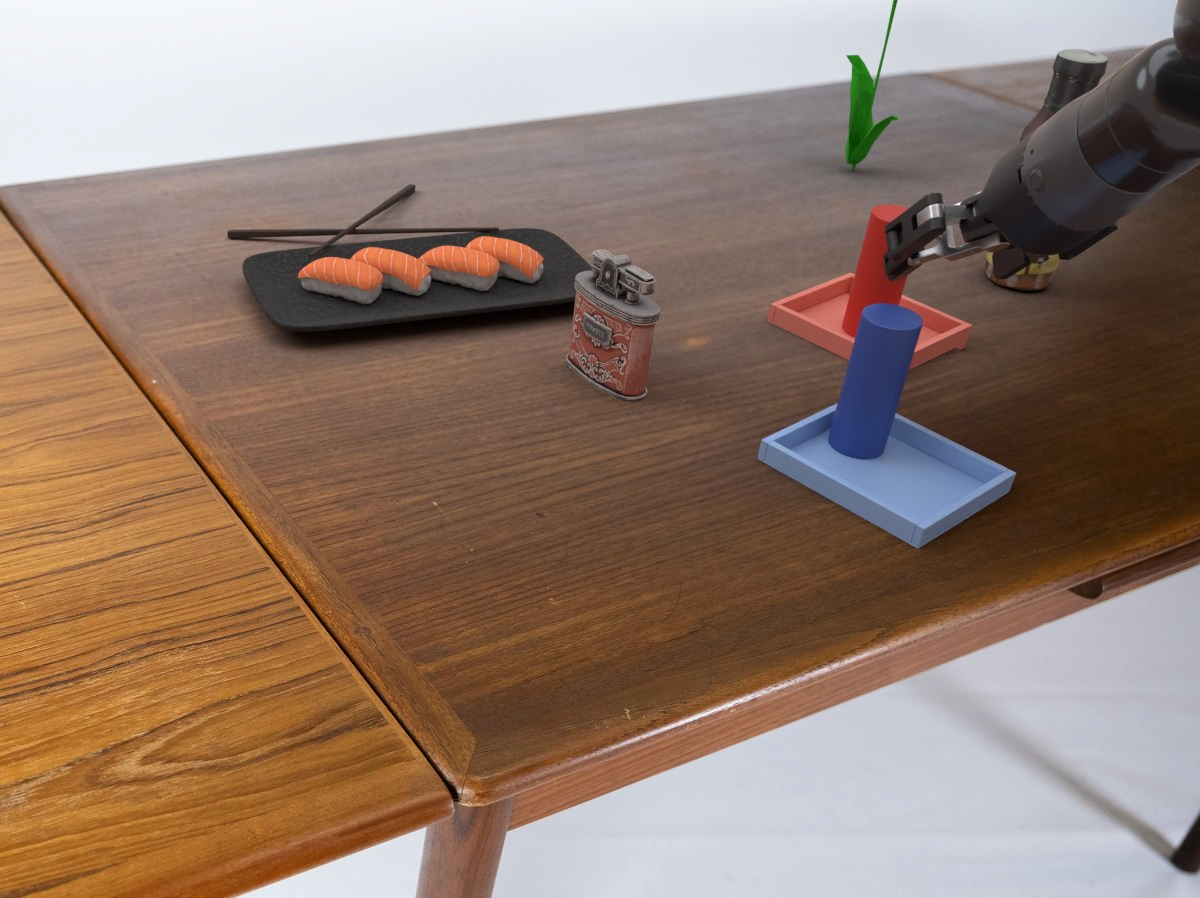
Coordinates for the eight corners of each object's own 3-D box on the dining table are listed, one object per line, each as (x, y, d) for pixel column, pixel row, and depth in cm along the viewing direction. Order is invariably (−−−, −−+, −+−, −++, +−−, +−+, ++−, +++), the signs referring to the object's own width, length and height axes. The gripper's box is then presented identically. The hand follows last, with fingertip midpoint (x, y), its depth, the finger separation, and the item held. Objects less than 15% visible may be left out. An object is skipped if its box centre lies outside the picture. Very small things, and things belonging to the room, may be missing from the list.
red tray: (965, 347, 106) (972, 324, 105) (887, 385, 100) (894, 361, 99) (844, 294, 113) (850, 272, 112) (765, 326, 107) (770, 303, 106)
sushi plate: (276, 354, 98) (275, 308, 95) (196, 206, 119) (193, 166, 117) (616, 313, 107) (622, 270, 105) (485, 183, 129) (487, 145, 126)
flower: (905, 173, 139) (991, -141, 121) (870, 190, 134) (953, -134, 116) (835, 151, 143) (907, -156, 125) (798, 167, 138) (868, -150, 120)
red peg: (899, 333, 106) (933, 217, 100) (871, 346, 104) (904, 227, 98) (860, 315, 108) (891, 200, 102) (831, 327, 106) (861, 210, 100)
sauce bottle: (1045, 271, 120) (1124, 50, 108) (1053, 298, 115) (1137, 70, 103) (974, 261, 121) (1044, 40, 109) (979, 287, 116) (1053, 59, 104)
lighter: (554, 366, 99) (568, 243, 93) (588, 356, 101) (604, 234, 94) (621, 412, 94) (640, 285, 88) (656, 401, 96) (677, 276, 89)
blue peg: (895, 448, 91) (935, 319, 85) (862, 465, 89) (901, 335, 83) (849, 424, 94) (885, 297, 87) (816, 441, 91) (850, 312, 85)
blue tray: (1007, 498, 88) (1016, 472, 87) (915, 555, 82) (924, 528, 81) (849, 418, 96) (856, 393, 94) (755, 465, 89) (761, 439, 88)
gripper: (1176, 113, 80) (1025, 218, 96) (968, 111, 78) (848, 220, 93) (1193, 228, 79) (1037, 315, 95) (983, 230, 77) (859, 319, 93)
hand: (944, 268), depth 94 cm, fingers open, 8 cm apart
